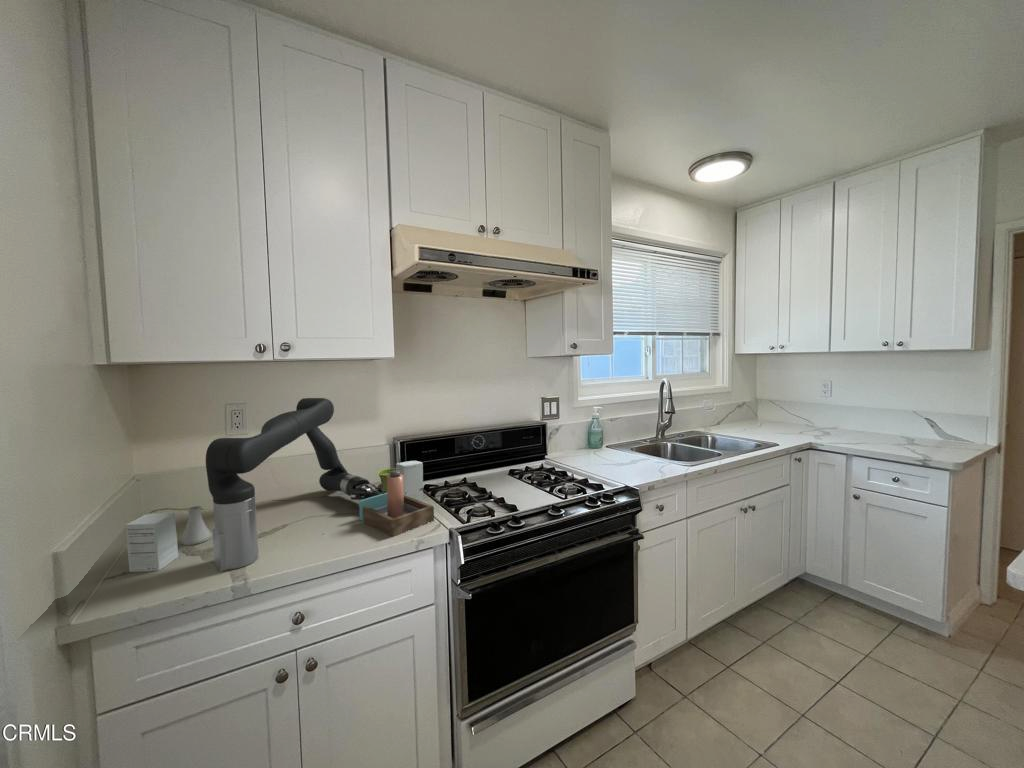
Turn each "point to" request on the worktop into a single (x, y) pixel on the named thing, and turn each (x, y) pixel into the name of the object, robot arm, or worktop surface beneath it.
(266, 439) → the robot arm
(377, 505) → the tray
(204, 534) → the flask
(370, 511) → the wooden storage box
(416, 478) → the skincare box
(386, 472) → the plant pot
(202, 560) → the worktop surface
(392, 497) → the bottle
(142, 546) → the supplement box
